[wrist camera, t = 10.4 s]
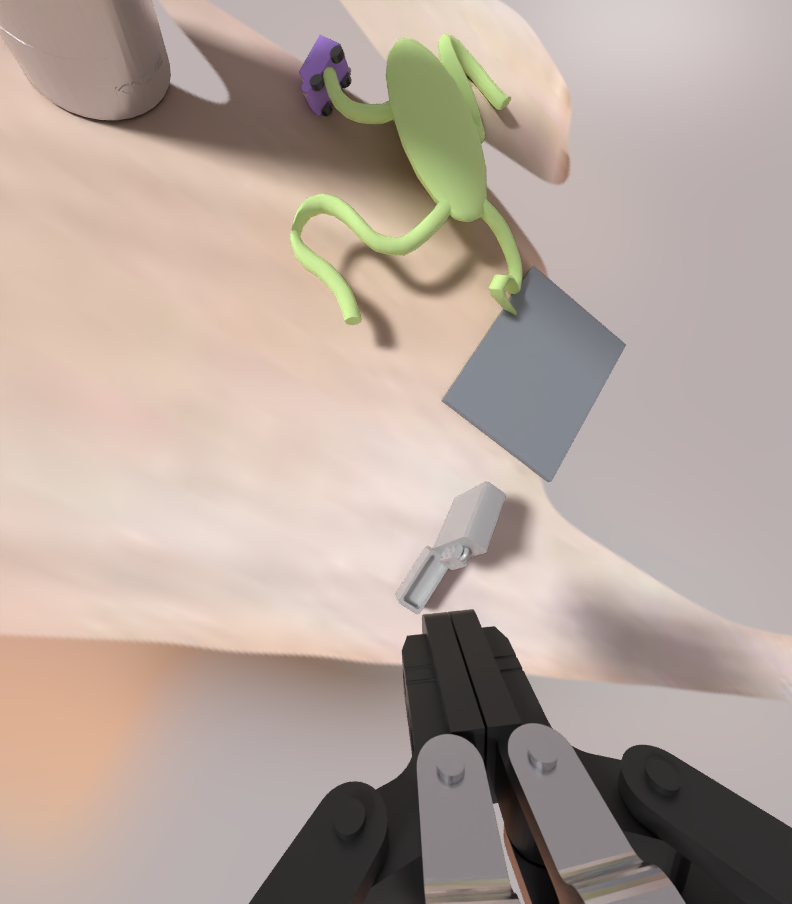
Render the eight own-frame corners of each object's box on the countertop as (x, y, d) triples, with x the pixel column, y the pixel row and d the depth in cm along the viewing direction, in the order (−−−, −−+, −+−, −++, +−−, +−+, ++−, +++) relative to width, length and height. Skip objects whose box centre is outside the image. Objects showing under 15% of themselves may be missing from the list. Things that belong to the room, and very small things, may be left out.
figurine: (290, 339, 30) (289, 303, 24) (292, 25, 33) (292, -69, 27) (514, 354, 34) (555, 327, 29) (498, 76, 37) (532, 4, 32)
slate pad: (441, 400, 31) (443, 399, 31) (530, 268, 35) (533, 265, 35) (547, 481, 33) (551, 481, 32) (621, 346, 36) (626, 344, 36)
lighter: (486, 480, 26) (442, 594, 22) (507, 495, 26) (467, 611, 22) (433, 509, 32) (390, 603, 28) (450, 521, 32) (410, 616, 28)
